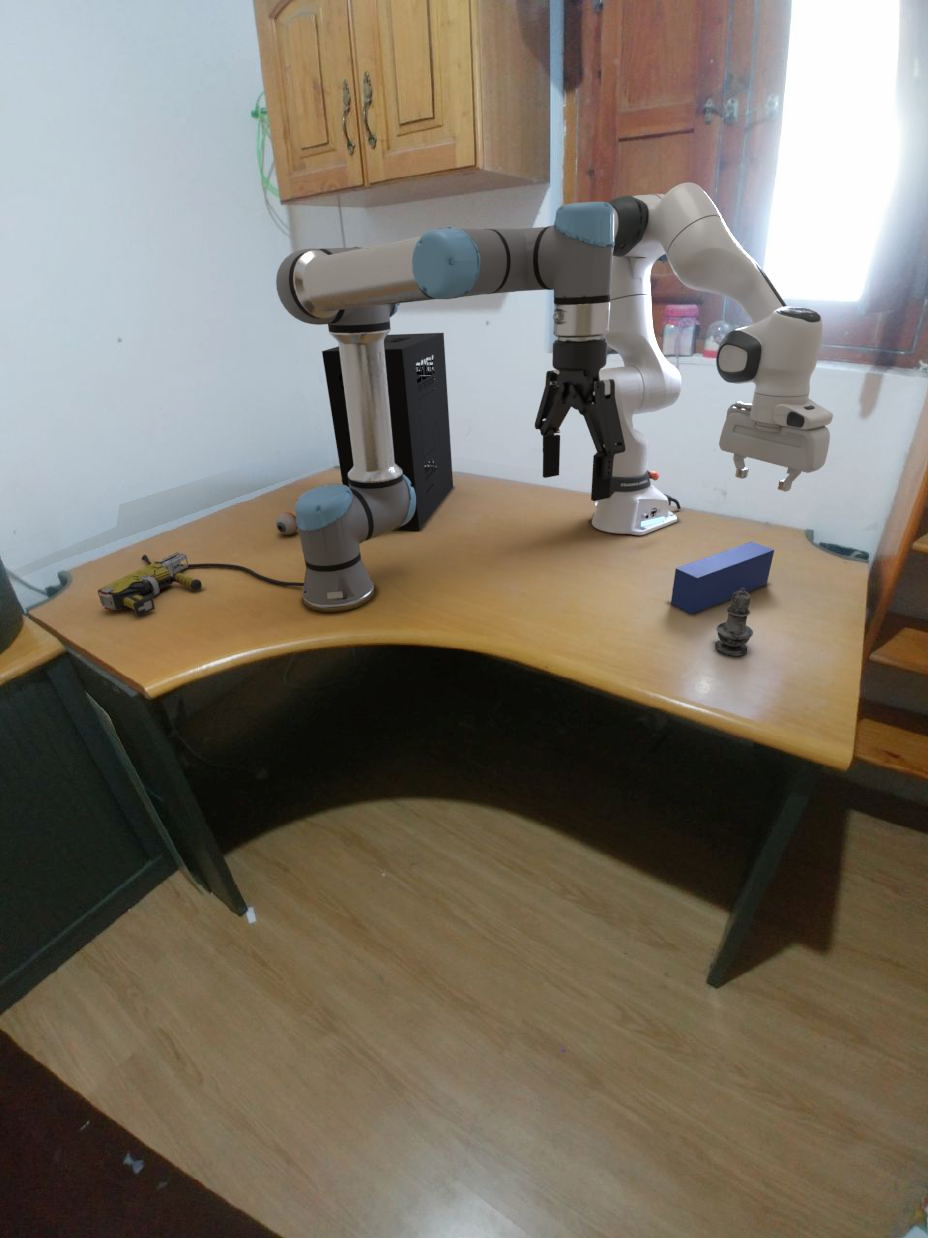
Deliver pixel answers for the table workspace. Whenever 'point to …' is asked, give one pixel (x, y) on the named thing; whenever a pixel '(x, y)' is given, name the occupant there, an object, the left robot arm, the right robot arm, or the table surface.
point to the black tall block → (406, 417)
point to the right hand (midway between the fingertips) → (761, 483)
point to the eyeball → (286, 523)
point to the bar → (721, 576)
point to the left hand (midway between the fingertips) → (574, 487)
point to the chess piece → (735, 626)
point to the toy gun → (146, 585)
